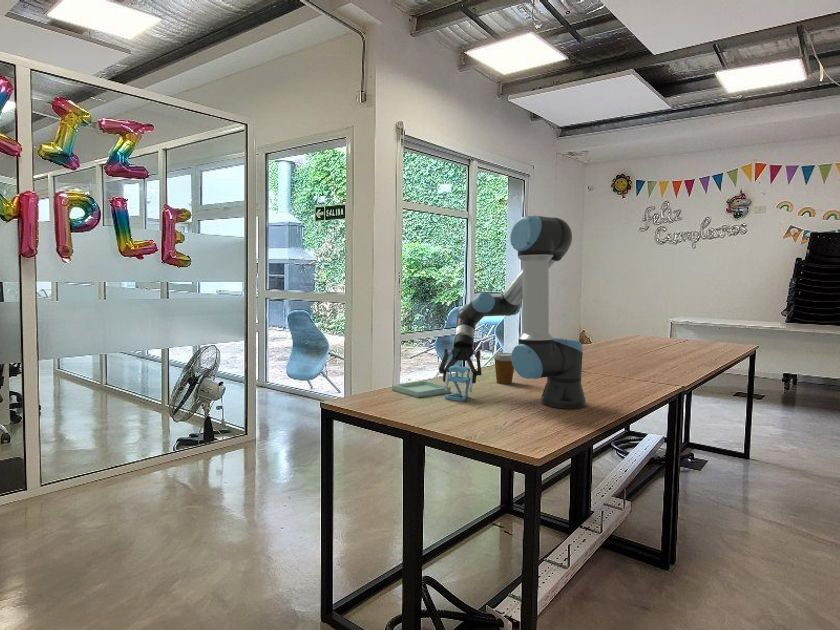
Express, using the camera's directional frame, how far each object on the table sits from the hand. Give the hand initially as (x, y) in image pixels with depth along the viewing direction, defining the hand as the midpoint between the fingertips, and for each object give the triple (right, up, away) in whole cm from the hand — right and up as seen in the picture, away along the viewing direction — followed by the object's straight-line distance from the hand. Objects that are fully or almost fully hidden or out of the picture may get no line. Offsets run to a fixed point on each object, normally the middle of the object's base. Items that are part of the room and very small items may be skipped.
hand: (458, 389), depth 198 cm
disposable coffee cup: (+22, -2, +33) cm, 40 cm away
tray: (-13, -3, +14) cm, 20 cm away
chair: (+1, -4, +4) cm, 5 cm away
